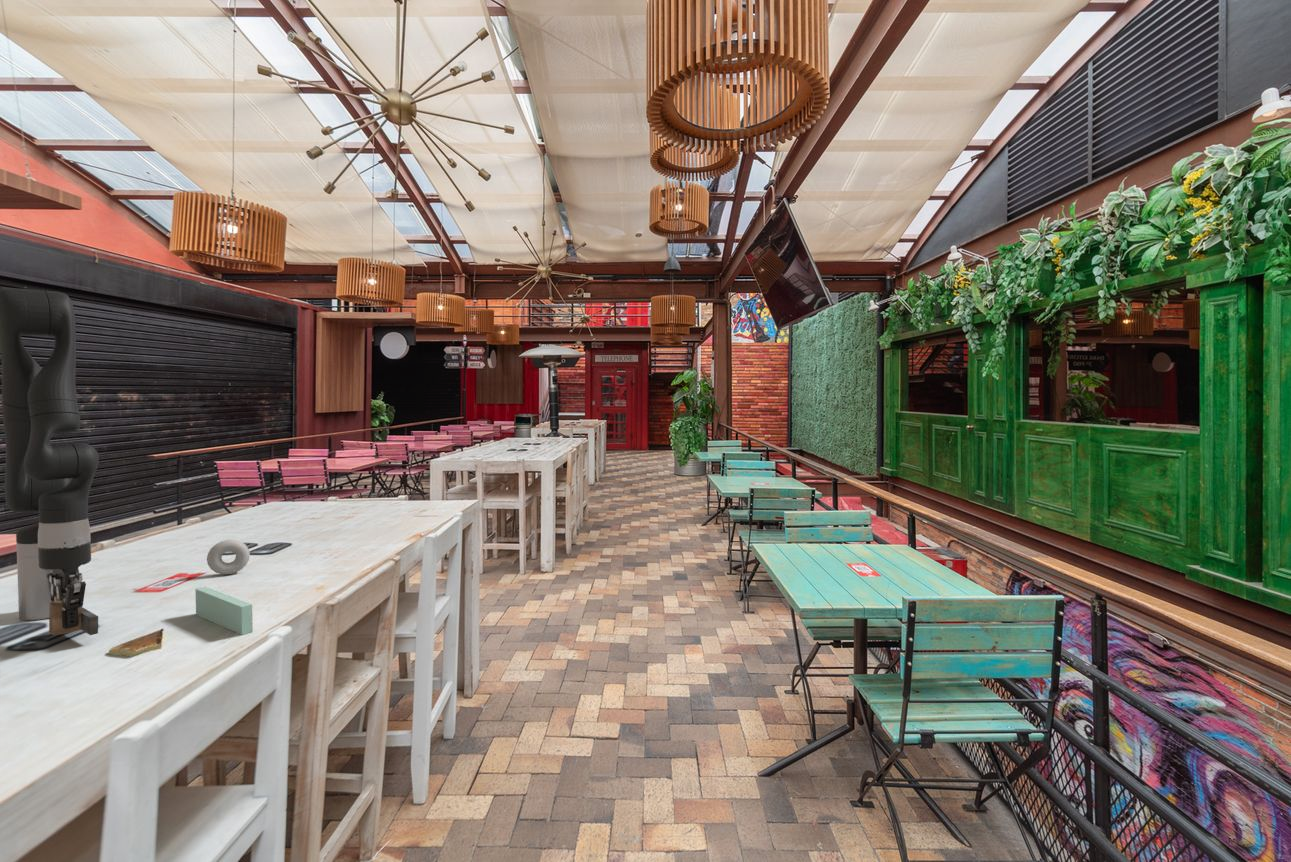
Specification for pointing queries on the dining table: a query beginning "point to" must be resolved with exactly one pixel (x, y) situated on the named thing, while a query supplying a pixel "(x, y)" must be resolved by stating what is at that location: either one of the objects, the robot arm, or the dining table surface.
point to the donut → (224, 546)
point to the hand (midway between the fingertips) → (67, 624)
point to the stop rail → (224, 610)
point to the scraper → (85, 620)
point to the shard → (139, 645)
